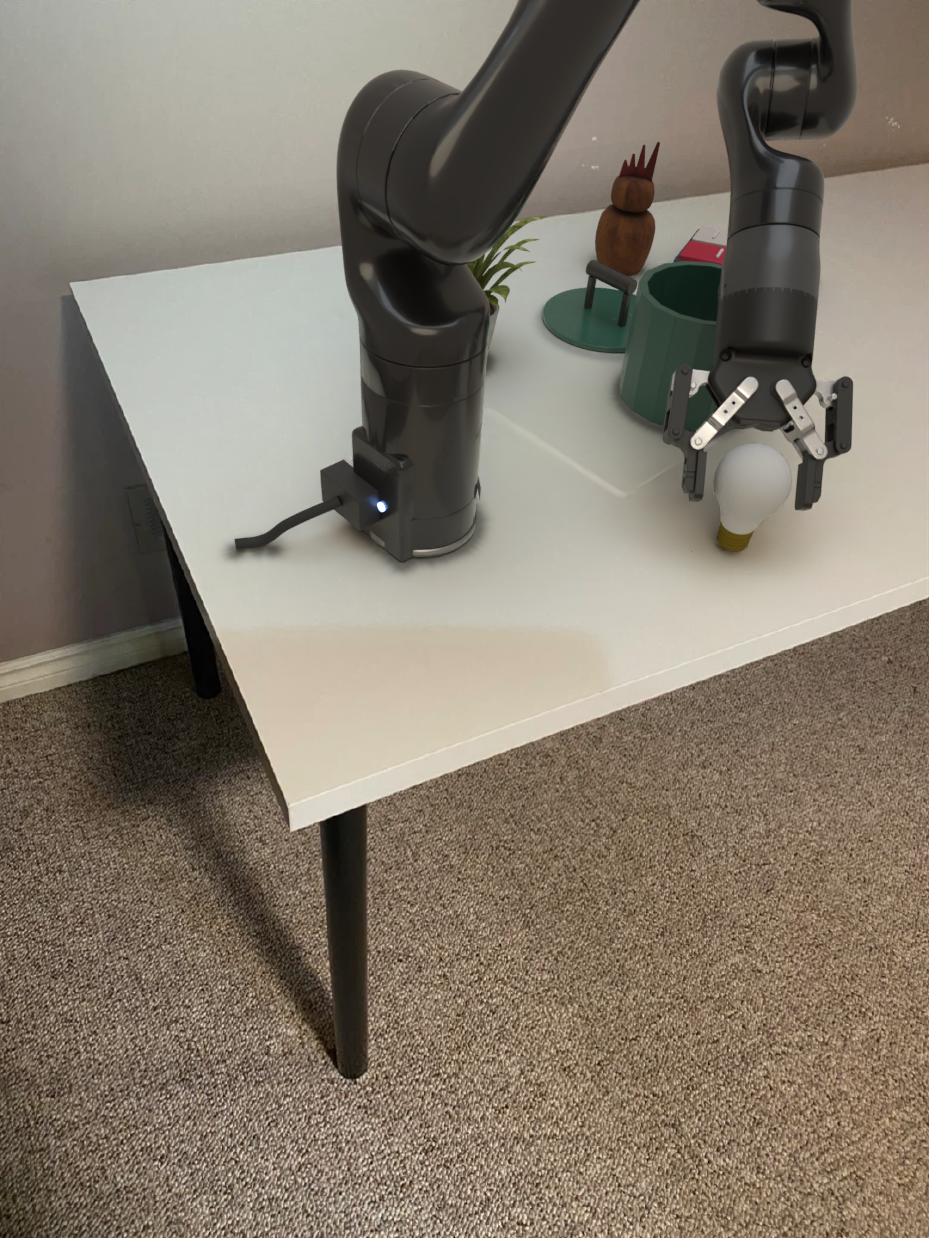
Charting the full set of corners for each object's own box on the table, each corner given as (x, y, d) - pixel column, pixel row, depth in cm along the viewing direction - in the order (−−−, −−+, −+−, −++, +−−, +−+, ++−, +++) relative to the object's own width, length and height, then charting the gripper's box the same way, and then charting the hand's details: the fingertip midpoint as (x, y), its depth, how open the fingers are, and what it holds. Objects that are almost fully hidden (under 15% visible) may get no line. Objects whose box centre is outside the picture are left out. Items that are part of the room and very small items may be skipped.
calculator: (699, 221, 116) (821, 243, 111) (693, 255, 119) (812, 278, 114) (673, 253, 109) (802, 279, 104) (667, 289, 112) (792, 315, 107)
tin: (692, 451, 87) (722, 340, 79) (593, 393, 93) (611, 285, 85) (768, 405, 93) (804, 298, 85) (671, 354, 100) (695, 249, 91)
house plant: (568, 366, 97) (591, 208, 85) (479, 417, 89) (491, 251, 78) (468, 316, 103) (477, 163, 91) (378, 360, 96) (375, 199, 84)
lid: (608, 371, 96) (619, 313, 92) (516, 320, 103) (522, 263, 98) (689, 332, 103) (702, 276, 99) (597, 286, 110) (606, 231, 105)
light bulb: (765, 577, 75) (804, 479, 68) (693, 565, 76) (724, 466, 69) (764, 532, 79) (800, 434, 72) (695, 520, 80) (724, 422, 73)
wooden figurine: (653, 270, 114) (680, 140, 103) (633, 287, 110) (659, 154, 99) (604, 255, 116) (625, 126, 105) (583, 271, 112) (603, 140, 102)
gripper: (688, 276, 69) (669, 492, 69) (878, 291, 69) (859, 507, 69) (667, 308, 77) (650, 503, 77) (839, 322, 76) (822, 517, 77)
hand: (749, 505), depth 73 cm, fingers open, 8 cm apart
